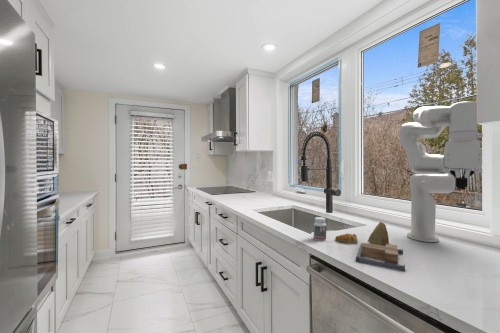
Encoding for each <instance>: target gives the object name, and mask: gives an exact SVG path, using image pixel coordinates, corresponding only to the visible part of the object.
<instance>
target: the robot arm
mask: <svg viewBox="0 0 500 333" xmlns="http://www.w3.org/2000/svg"><path fill="white" fill-rule="evenodd" d="M477 105H478V103H477V102H476V101H472V100H469V101H468V100H467V101H459V102H455V103H453V104H451V105H450V106H447V105H446V106H445V105H434V106H433V105H432V106H421V107H418V108H417V109H416V110H415V111H414V112H413V114H412V118H413V121H414V122H406V123H403V124H402V125H401V126H400V127H399V130H398V131H399V132H398V135H399V136H398V137H399V141H400V143H401V145H402V146H403V147H402V148H404V151H405V153H406V158H407V162H408V165H409V169H410V170H411V172H413V174H412V175H410V177H409V186H410V193H411V201H410V202H411V205H410V206H411V207H410V208H411V209H410V210H411V211H410V213H411V214H410V232H407V234H406V237H408V238H409V239H411V240H414V241H419V242H425V243H437V242H439V241H440V237H438V236H436V211H437V210H436V207H437V206H436V205H437V202H436V200H435V199H434V198H433V196H432V195H431V194H452V193H453V192H454V191H455V189H456V188H457V190H463V191H464V190H466V188H468V180H469V178H470V177H471V176H473V175H475V174H480V173H483V169H482V168H483V167H482V166H483V155H482V154H483V153H482V147H481V142H480V140H478V139H480V138H483V135H484V134H483V133H479V131H478V119H477ZM446 127H448V141H446V142H445V144H444V148H443V155H442V154H430V153H428V152H427V149H426V146H425V145H424V144H423V143H422V142H420V141H419V140H418V139H420V140H421V139H436V138H438V137H439V136H440V135H441V133H442V132H443V130H444V129H445V128H446ZM460 170H463V172H462V176H461V172H460Z"/></svg>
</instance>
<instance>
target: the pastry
mask: <svg viewBox="0 0 500 333" xmlns="http://www.w3.org/2000/svg"><path fill="white" fill-rule="evenodd" d="M334 240H335V241H336V242H338V243H341V244H348V245H358V243H359V241H358V240H359V239H358V236H357V234H355V233H353V234H352V233H345V234H340V235H337V236H335V238H334Z"/></svg>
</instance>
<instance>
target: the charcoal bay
mask: <svg viewBox="0 0 500 333" xmlns="http://www.w3.org/2000/svg"><path fill="white" fill-rule="evenodd" d="M362 243H363V242H362ZM362 243H360V245H359V247H358V248H359V249H358V251H357V253H356V256H355V262H357V263H362V264H368V265H372V266H373V265H374V266H378V267H383V268H388V269H393V270H398V271H403V272H405V271H406V265H405V264H400V263H398V264H395V263H390V262H385V261H383V260H378V259H373V258H368V257H362V256H361V247H362ZM398 255H404V249H401V248H398Z"/></svg>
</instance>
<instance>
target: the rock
mask: <svg viewBox="0 0 500 333" xmlns="http://www.w3.org/2000/svg"><path fill="white" fill-rule="evenodd" d="M389 240H390V238H389V233H388V229H387V227H386V224H385V223H383V222H382V221H380V222H379V223H378V224H377V225H376V226H375V228H374V229H373V231H372V232H371V233H370V235H369V237H368V239H367V243H369V244H375V245H381V246H386V244H390V241H389Z"/></svg>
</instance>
